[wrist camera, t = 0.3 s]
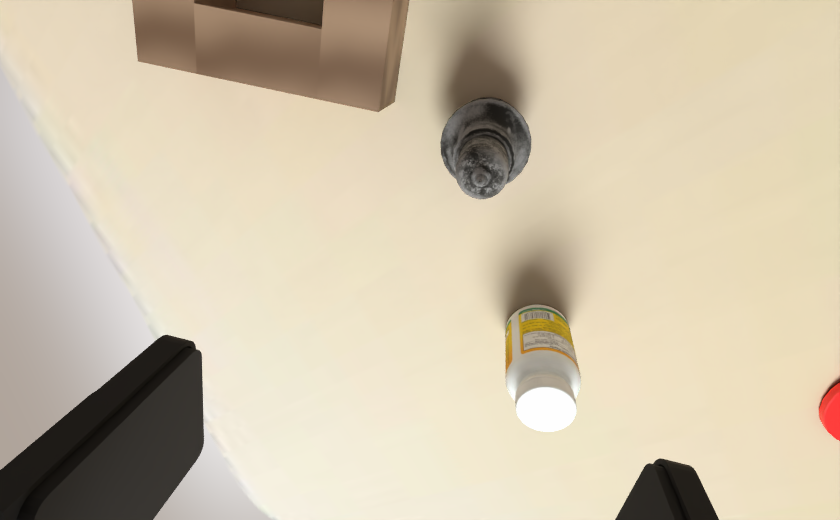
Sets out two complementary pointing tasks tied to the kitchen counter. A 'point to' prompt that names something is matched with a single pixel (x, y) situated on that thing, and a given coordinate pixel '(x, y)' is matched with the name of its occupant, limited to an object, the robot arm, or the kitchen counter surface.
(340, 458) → the kitchen counter surface
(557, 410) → the supplement bottle
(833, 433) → the tow hook
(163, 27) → the well block
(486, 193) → the dark stone chess piece
